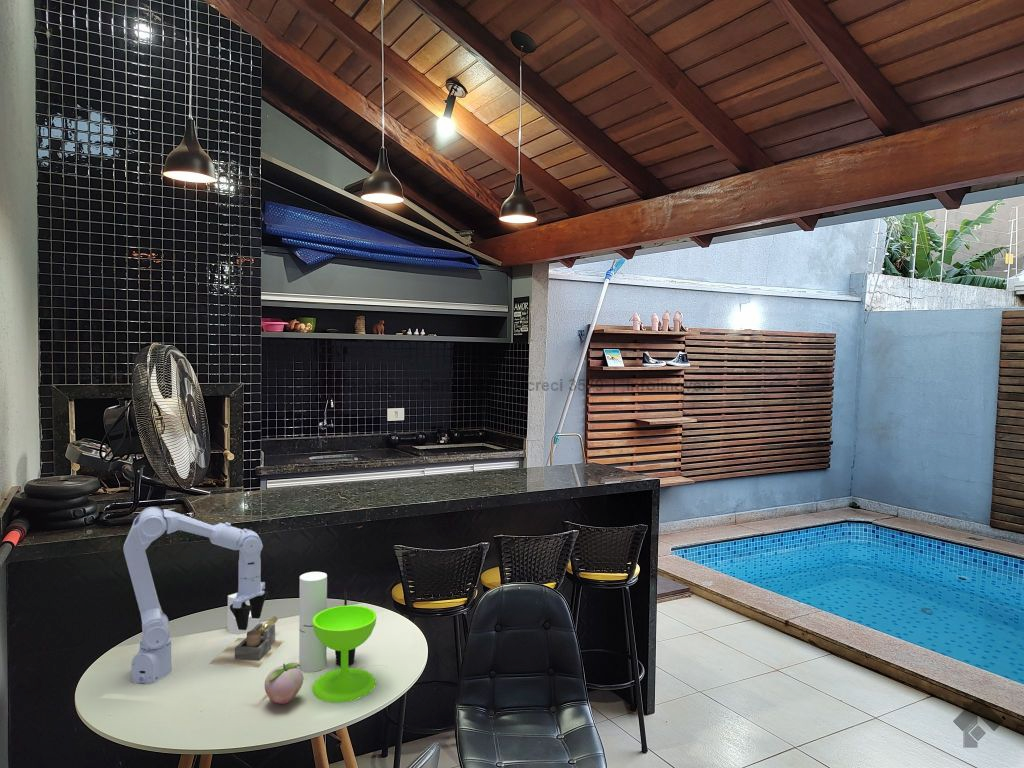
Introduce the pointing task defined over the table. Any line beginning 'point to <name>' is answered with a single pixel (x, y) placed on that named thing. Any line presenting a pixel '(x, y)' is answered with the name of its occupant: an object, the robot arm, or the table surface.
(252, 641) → the peg
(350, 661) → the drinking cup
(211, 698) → the table surface
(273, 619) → the pin
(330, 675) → the wineglass
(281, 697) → the decorative fruit
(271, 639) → the dock
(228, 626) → the base with upright slab
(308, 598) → the cylindrical container
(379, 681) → the table surface
